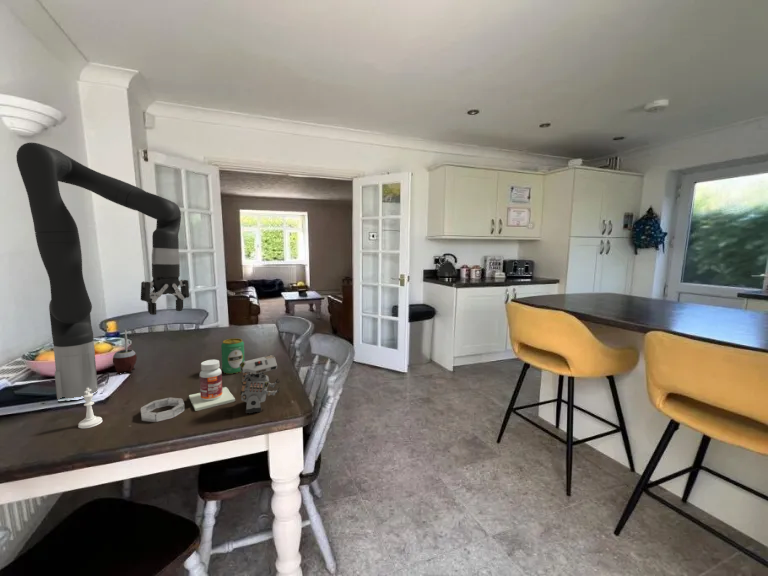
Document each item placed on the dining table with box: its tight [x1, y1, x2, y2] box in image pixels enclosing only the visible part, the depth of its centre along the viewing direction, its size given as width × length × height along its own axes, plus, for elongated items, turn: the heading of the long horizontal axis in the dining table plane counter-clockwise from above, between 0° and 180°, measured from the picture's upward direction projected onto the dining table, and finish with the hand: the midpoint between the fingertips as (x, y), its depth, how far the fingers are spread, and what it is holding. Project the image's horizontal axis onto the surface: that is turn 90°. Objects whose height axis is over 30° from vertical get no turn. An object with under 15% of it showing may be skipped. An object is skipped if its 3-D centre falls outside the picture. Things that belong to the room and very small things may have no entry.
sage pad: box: [188, 386, 236, 412], centre depth 105 cm, size 11×11×1 cm
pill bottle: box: [199, 359, 223, 401], centre depth 105 cm, size 6×6×11 cm
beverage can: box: [220, 337, 246, 375], centre depth 129 cm, size 8×8×12 cm
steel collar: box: [140, 397, 185, 423], centre depth 96 cm, size 10×10×2 cm
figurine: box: [239, 354, 281, 414], centre depth 101 cm, size 9×12×15 cm
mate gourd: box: [112, 329, 138, 375], centre depth 126 cm, size 8×8×15 cm
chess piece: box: [77, 388, 103, 429], centre depth 89 cm, size 5×5×10 cm
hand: (166, 312), depth 108 cm, fingers open, 8 cm apart
